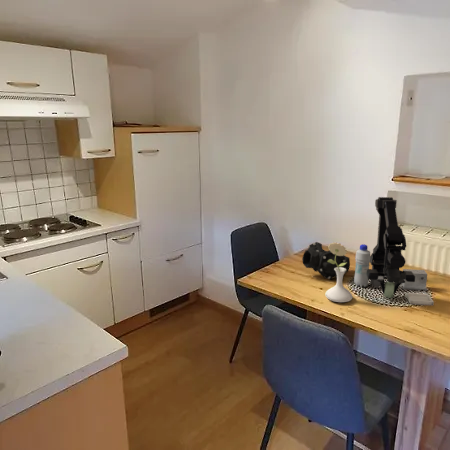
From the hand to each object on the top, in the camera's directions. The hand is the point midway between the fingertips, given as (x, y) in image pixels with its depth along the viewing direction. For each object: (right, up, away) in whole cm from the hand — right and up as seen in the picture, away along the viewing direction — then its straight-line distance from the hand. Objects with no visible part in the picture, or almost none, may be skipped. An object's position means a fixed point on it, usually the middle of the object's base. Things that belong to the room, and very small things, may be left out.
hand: (388, 293), depth 170 cm
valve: (-22, +6, +32) cm, 39 cm away
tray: (+11, -2, -4) cm, 12 cm away
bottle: (-8, +1, +13) cm, 15 cm away
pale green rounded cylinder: (0, -1, 0) cm, 1 cm away
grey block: (-1, +2, +12) cm, 12 cm away
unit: (+15, +1, +9) cm, 17 cm away
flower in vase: (-23, -2, 0) cm, 23 cm away
